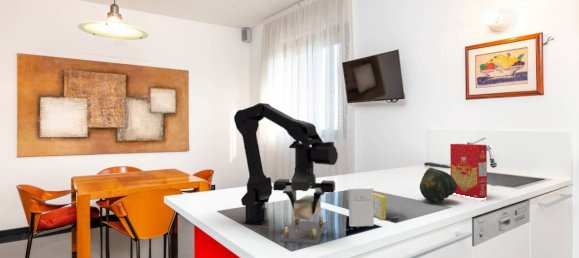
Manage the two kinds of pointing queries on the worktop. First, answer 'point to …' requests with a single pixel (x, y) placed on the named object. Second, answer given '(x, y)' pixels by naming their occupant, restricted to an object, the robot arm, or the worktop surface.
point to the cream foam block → (306, 208)
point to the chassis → (304, 231)
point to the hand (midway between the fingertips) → (304, 213)
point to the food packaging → (469, 169)
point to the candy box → (379, 206)
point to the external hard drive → (361, 207)
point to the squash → (437, 185)
